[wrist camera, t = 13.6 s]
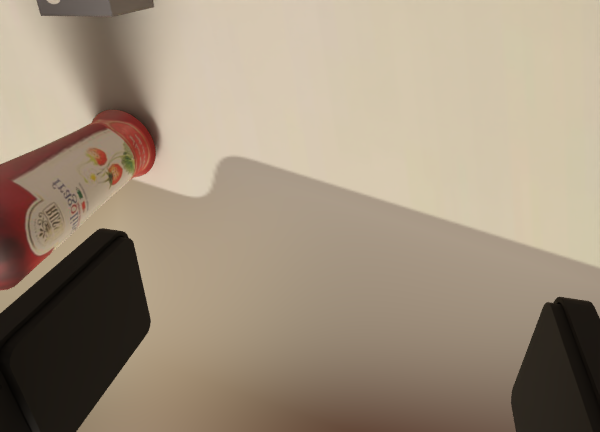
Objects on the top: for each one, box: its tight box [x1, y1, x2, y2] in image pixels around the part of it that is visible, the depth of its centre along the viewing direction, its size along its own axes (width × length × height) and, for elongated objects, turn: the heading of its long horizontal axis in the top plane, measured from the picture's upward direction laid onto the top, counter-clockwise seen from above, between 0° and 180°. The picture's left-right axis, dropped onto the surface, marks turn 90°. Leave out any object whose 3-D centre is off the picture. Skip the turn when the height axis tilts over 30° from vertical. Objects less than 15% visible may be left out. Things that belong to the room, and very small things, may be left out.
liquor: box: [0, 110, 156, 290], centre depth 33 cm, size 7×7×28 cm
